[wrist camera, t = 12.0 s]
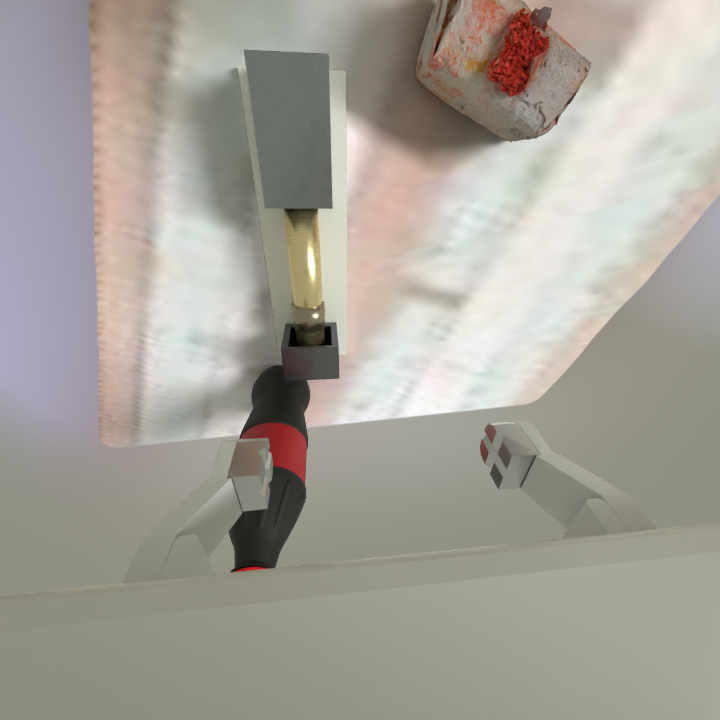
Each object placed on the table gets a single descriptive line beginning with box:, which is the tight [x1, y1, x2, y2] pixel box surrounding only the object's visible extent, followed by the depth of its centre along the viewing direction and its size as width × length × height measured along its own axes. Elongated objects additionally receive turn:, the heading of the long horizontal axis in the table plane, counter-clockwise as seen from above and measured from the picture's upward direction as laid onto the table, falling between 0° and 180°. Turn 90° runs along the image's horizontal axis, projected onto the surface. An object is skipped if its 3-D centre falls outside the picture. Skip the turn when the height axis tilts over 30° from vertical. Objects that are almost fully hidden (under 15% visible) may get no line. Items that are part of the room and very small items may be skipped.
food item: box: [415, 0, 591, 142], centre depth 28 cm, size 14×8×10 cm, turn 66°
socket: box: [281, 322, 339, 381], centre depth 43 cm, size 5×7×7 cm
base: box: [237, 66, 347, 358], centre depth 39 cm, size 32×10×1 cm, turn 179°
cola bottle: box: [229, 366, 310, 573], centre depth 38 cm, size 8×8×30 cm
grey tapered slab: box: [244, 50, 333, 209], centre depth 30 cm, size 11×6×6 cm, turn 179°
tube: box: [283, 208, 325, 347], centre depth 38 cm, size 20×4×4 cm, turn 179°
